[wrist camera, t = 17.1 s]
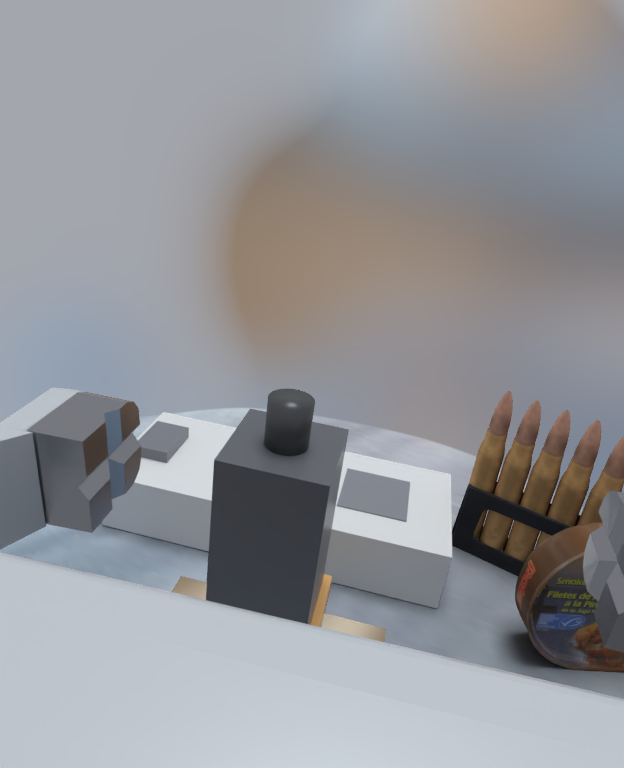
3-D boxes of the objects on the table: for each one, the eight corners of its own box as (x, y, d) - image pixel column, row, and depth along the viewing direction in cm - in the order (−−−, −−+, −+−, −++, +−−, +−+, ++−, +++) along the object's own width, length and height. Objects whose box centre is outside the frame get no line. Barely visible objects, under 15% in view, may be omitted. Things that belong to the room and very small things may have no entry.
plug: (320, 640, 30) (366, 385, 24) (297, 732, 26) (347, 446, 19) (227, 615, 31) (247, 361, 25) (188, 701, 26) (201, 415, 20)
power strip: (438, 518, 43) (453, 464, 41) (437, 608, 35) (455, 546, 33) (162, 456, 46) (163, 402, 44) (102, 524, 38) (100, 463, 36)
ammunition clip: (447, 543, 40) (490, 391, 35) (456, 530, 42) (498, 382, 37) (609, 619, 36) (685, 456, 31) (612, 601, 37) (686, 442, 32)
